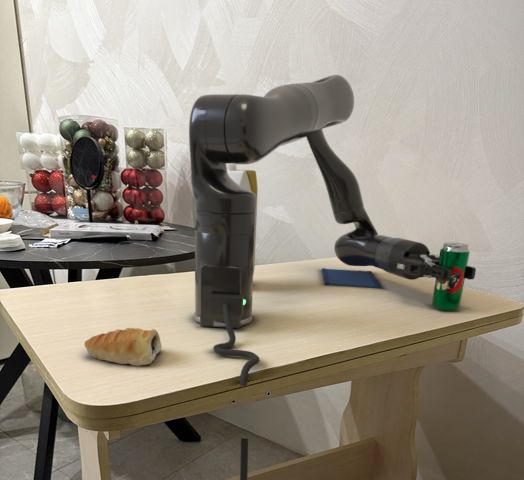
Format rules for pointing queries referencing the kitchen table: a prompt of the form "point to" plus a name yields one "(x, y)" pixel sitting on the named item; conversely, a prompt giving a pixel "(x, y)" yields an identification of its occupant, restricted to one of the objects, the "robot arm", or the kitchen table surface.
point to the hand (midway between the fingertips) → (461, 274)
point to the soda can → (451, 291)
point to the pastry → (125, 346)
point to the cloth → (350, 278)
